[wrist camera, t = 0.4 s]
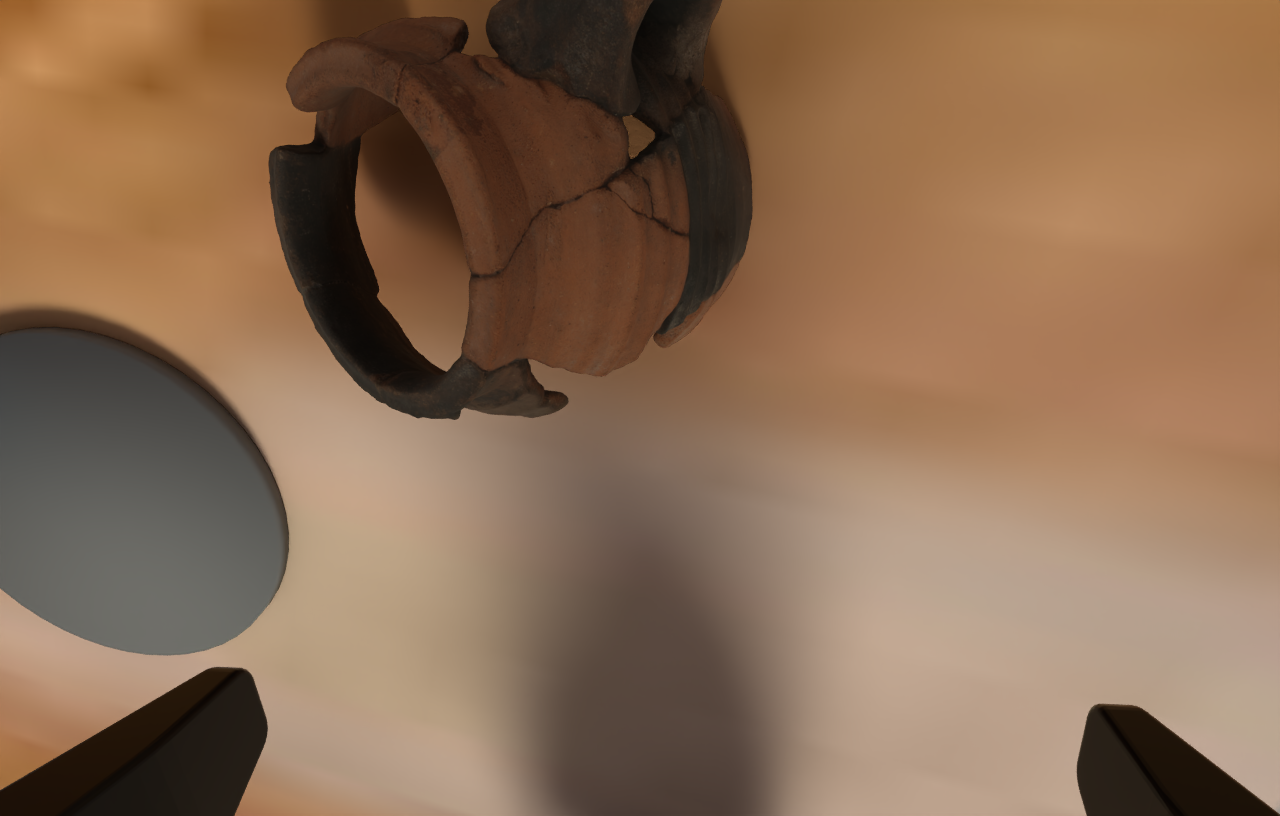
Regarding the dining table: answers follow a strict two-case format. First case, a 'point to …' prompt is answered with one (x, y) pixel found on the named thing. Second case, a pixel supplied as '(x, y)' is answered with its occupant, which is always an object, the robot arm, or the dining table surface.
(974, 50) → the dining table surface
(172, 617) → the rubber mat
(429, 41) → the pottery mug
